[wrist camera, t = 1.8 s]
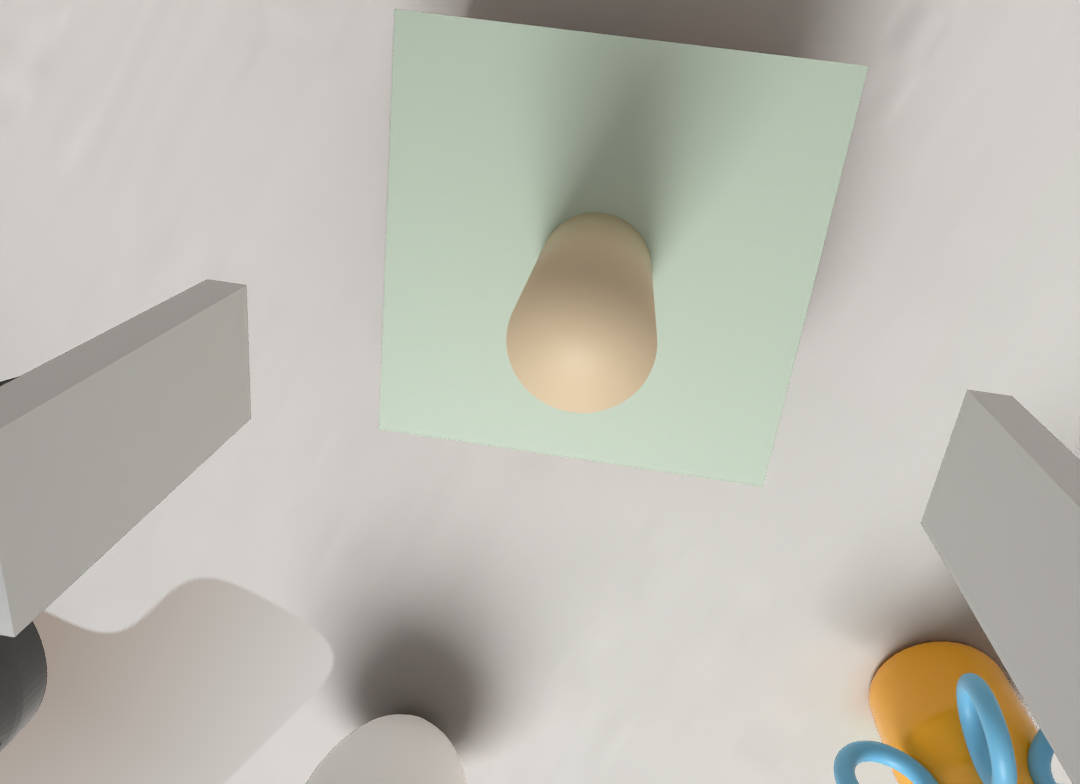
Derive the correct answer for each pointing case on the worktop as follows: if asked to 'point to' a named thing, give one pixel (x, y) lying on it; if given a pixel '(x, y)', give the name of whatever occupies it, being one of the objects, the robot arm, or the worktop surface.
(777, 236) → the lid
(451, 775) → the sauce bottle
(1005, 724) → the cylinder
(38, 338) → the worktop surface
